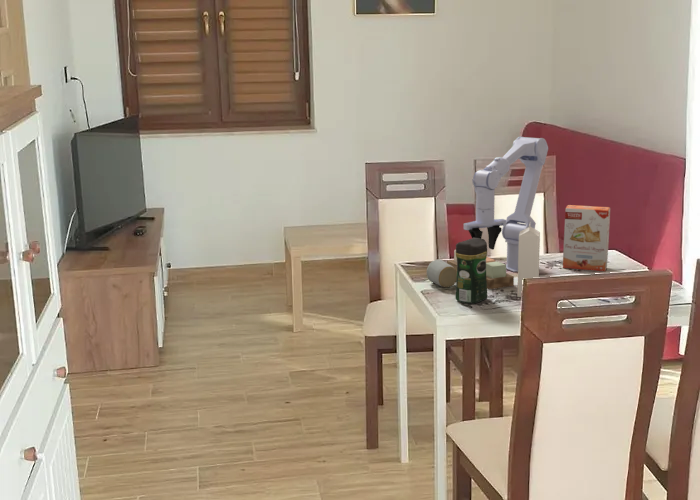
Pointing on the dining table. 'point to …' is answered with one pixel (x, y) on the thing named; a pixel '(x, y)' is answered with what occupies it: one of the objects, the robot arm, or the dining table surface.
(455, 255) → the key ivory
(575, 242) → the cracker box
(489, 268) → the key sage
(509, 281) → the keypad frame
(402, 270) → the dining table surface
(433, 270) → the ceramic mug
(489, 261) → the key terracotta
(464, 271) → the coffee jar
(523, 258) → the milk
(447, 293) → the dining table surface
